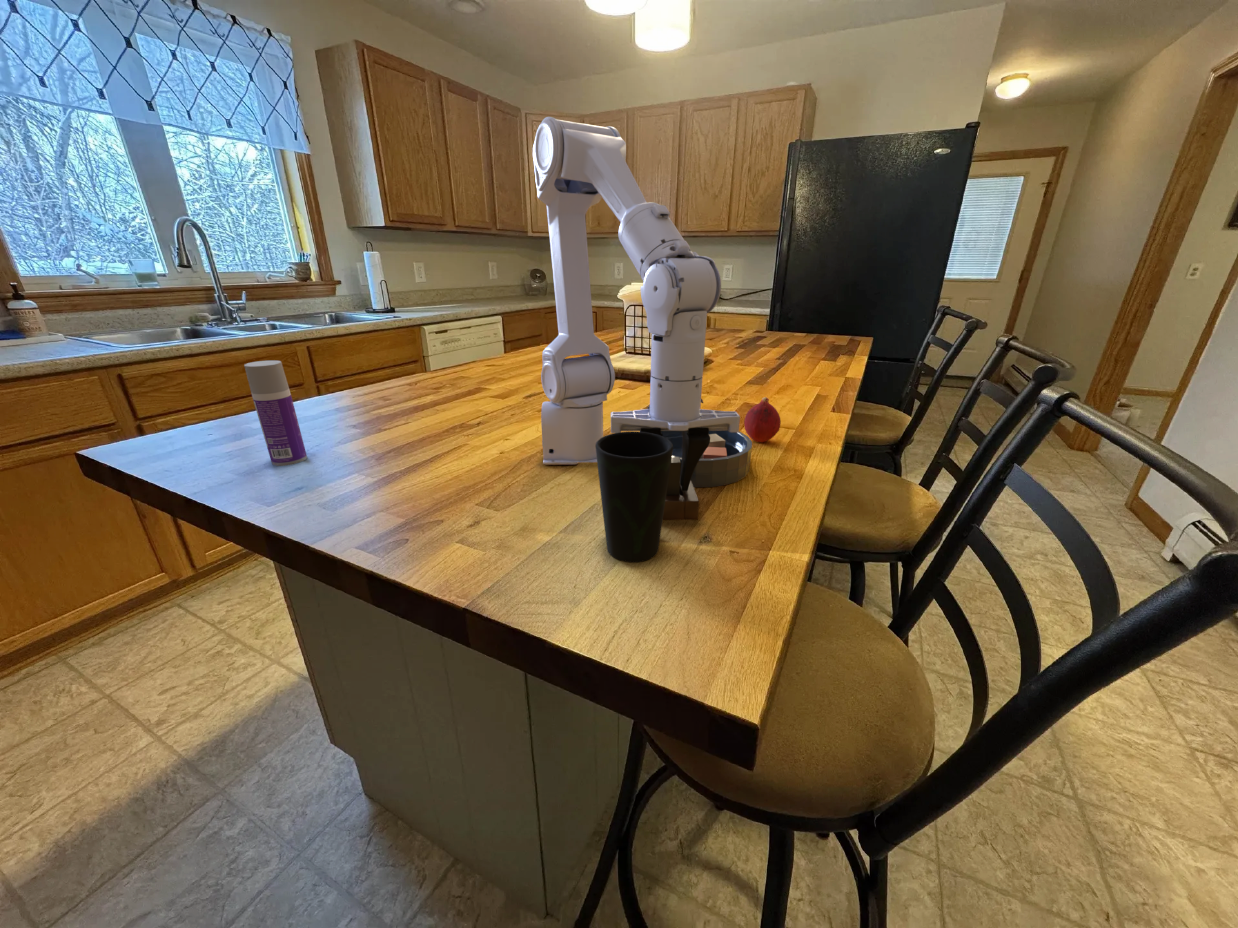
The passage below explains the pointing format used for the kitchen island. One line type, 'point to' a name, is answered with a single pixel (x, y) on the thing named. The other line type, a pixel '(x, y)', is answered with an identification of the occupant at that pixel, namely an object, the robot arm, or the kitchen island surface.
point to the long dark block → (674, 477)
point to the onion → (762, 421)
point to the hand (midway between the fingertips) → (671, 487)
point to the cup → (633, 492)
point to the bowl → (718, 459)
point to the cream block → (715, 442)
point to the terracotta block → (714, 452)
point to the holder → (682, 505)
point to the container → (276, 412)
